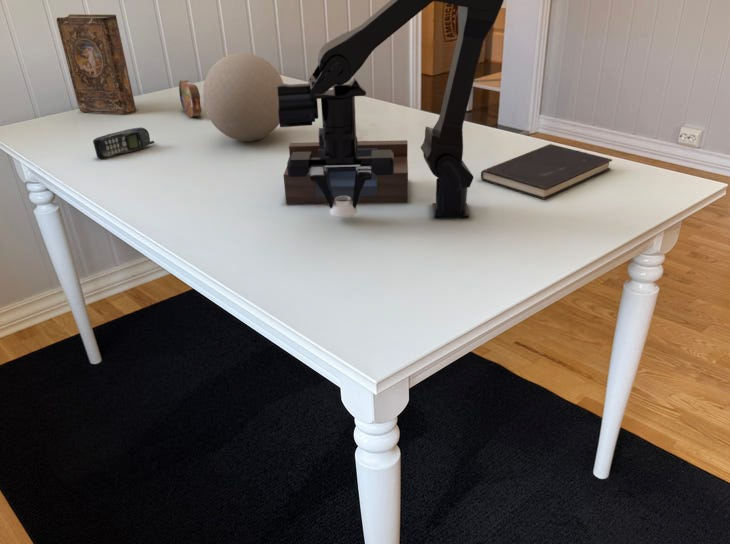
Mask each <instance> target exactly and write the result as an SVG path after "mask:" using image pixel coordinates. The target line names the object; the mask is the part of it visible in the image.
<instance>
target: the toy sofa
mask: <svg viewBox="0 0 730 544" xmlns="http://www.w3.org/2000/svg"><path fill="white" fill-rule="evenodd" d="M408 144H409V143H408V140H407V139H406V140H405V139H403V140H358V154H357V157H366V156H371V154H372V150H391V151H392V152H393V153H394V174H391V175H375V174H374V173H373V172H372V179H370V180H366V181H365V183H364V185H363V187H362V190H361V192H360V195H359V198H358V202H357V204H406V203H407V204H408V203H409V162H408V155H409V154H408V153H409V152H408V146H409V145H408ZM293 152H312V157H313V158H323V157H325V153H324V146H319V141H311V142H309V141H308V142H307V141H306V142H290V143H289V145H288V153H289V156H290V155H291V154H292V153H293ZM310 175H311V172H310V169H309V173H308V174H307V175H306V176H305V177H290V176H288V170H287V166H286V168H285V170H284V172H283V176H282V177H283V185H284V195H285V205H329V204H328V202H327V200H326V198H325V196H324V194H323V192H322V190H321V189H320V187H319V186H318V184H317V183H316V181H311V180H310ZM355 175H356V168H331V169H329V178H330V184H331V189H332V195H333V202H334V200H335V198H336V197H338V196H349V197H351V200H352V201H353V195H354V184H355Z"/></svg>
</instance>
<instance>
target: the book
mask: <svg viewBox="0 0 730 544" xmlns="http://www.w3.org/2000/svg"><path fill="white" fill-rule="evenodd" d="M56 25H57V29H58V32H59V36H60V40H61V45H62V49H63V51H64V55H65V60H66V64H67V67H68V72H69V75H70V79H71V83H72V87H73V92H74V95H75V99H76V104H77V106H78V109H79V110H80V112H82V113H88V114H89V113H90V114H107V115H109V114H110V115H125V116H126V115H130V114H133V113H135V112H136V111H137V107H136V103H135V98H134V94H133V89H132V85H131V84H132V83H131V79H130V75H129V70H128V66H127V61H126V55H125V51H124V45H123V42H122V37H121V34H120V27H119V23H118V18H117V14H90V13H89V14H88V13H87V14H84V13H83V14H79V13H78V14H74V13H73V14H72V13H71V14H68V15H67V16H66V17H65V16H64V17H62V16H61V17H59V16H58V17H57V18H56Z"/></svg>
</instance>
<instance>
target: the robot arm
mask: <svg viewBox="0 0 730 544" xmlns="http://www.w3.org/2000/svg"><path fill="white" fill-rule="evenodd" d="M504 1H505V0H389V1H388V2H386V3H385V4H384V5H383V6H382V7H381V8H379V9H378V10H377V11H376V12H375V13H374V14H372V15H371V16H370V17H369V18H367V19H366V20H365V21H364V22H363V23H362V24H361V25H359V26H357V27H355V28H353V29H351V30H349V31H346V32H344V33H342V34H340V35H339V36H337V37H334V38H333V39H332V40H329V41H328V42H326V43H325V44H323V46H321V48H320V49H319V52H318V56H317V65H316V67H315V69H314V71H313V72H312V74H311V75H310V77H309V78H308V82H306V83H293V84H292V83H291V84H289V83H284V84H278V85H277V89H278V101H279V102H278V114H279V128H291V127H292V128H293V127H305V126H313V123H316V120H317V119H319V105H318V100H319V99H320V105H321V119H322V120H321V121H322V127H318V142H319V146H324V153H325V157H323V158H313V157H312V152H293V153H292V154H291V155H290V154H289V157H288V160H287V162H286V167H287V170H288V176H290V177H305V176H306V175H307V174H308V173H309V169H310V172H311V175H310V180H311V181H316V183H317V184H318V186H319V187H320V189H321V190H322V192H323V194H324V196H325V198H326V200H327V202H328V204H327V205H328V206H329V209H330V208H332V207H333V195H332V189H331V184H330V178H329V169H331V168H356V175H355V184H354V195H353V207H354V208H355V209H356V208H357V205H358V203H357V202H358V198H359V195H360V192H361V190H362V187H363V185H364V183H365V181H366V180H370V179H372V172H373V173H374V174H375V175H391V174H394V153H393V152H392V151H391V150H372V154H371V156H366V157H357V154H358V141H359V140H358V137H357V122H356V101H355V100H356V97H365V96H366V95H367V91H366V88H365V87H364V86H363V85H362V84H361V83H360V82H358V79H357V78H356V77H354V76H355V75H356V73H358V71H359V70H360V69H361V68H362V66H363V65H364V64H365V63H366V61H367V60H368V58H369V57H370V55H371V54H372V53H373V52H374V50H376V48H377V47H379V46H380V45H381V44H383V43H384V42H385V41H387V40H388V38H390V37H391V36H392V35H394V34H395V33H397V31H399V29H401V28H402V27H403V26H404V25H406V24H407V23H408V22H409V21H411V20H412V19H413V18H414V17H416V16H417V15H418V14H419V13H421V11H423V10H424V9H425V8H427V7H428V6H429V5H430V4H432V3H434V2H438V3H443V4H448V5H453V6H457V27H458V30H457V31H458V34H457V39H456V42H455V47H454V51H453V56H452V60H451V65H450V69H449V73H448V78H447V81H446V85H445V86H446V87H445V91H444V95H443V99H442V104H441V107H440V108H441V109H440V112H439V116H438V119H437V121H436V123H435V125H434V126H433V128H432V127H430V126H425V129H424V140H423V141H422V144H421V146H420V149H421V152H422V153H423V159H424V161H425V163H426V165H427V166H428V168H429V170H430V172H431V174H432V175H433V176H435V178H436V183H435V202H433V203H432V214H433V218H434V219H469V218H470V212H469V211H470V210H469V207H468V206H469V205H468V203H467V200H468V189H469V188H471V185H472V182H473V180H474V175H473V173H472V172H471V170H470V169H469V168H468V166H467V165H466V163H465V162H464V160H463V154H464V136H463V134H464V133H463V129H464V128H463V127H464V121H465V118H466V114H467V110H468V106H469V103H470V102H469V101H470V98H471V94H472V90H473V86H474V82H475V77H476V74H477V69H478V66H479V62H480V58H481V54H482V50H483V46H484V42H485V40H486V38H487V36H488V34H489V33H490V31H491V29H492V28H493V27H494V24H495V23H496V21H497V18H498V16H499V13H500V11H501V9H502V6H503V4H504ZM353 77H354V78H353ZM352 78H353V79H352ZM351 79H352V80H351ZM350 80H351V81H350ZM349 81H350V82H349ZM348 82H349V83H348Z"/></svg>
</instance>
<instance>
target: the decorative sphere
mask: <svg viewBox="0 0 730 544" xmlns="http://www.w3.org/2000/svg"><path fill="white" fill-rule="evenodd" d="M278 84H285V83H284V81H283V78H282V76H281V75H280V73H279V72H278V70H277V69H276V67H274V65H272V64H271V63H270V62H269V61H268V60H266V59H265V58H263V57H262V56H259V55H256V54H254V53H249V52H235V53H231V54H228V55H226V56H224V57H222V58H220V59H219V60H218V61H217V62H215V63H214V65H213V66H212V67H211V68H210V69H209V71H208V72H207V74H206V77H205V79H204V83H203V88H202V100H203V101H202V102H203V106H204V109H205V113H206V115H207V117H208V119H209V120H210V122H211V124H212V125H213V126H214V127H215V128H216V129H217V130H218V131H219V132H221V133H222V134H223V135H225V136H226V137H228V138H231V139H233V140H236V141H241V142H253V141H258V140H261V139H263V138H265V137H267V136H269V135H270V134H272V133H273V132H274V131H275V130H276V129H277V128H278V126H280V123H279V114H278V102H279V101H278V89H277V85H278Z"/></svg>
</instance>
